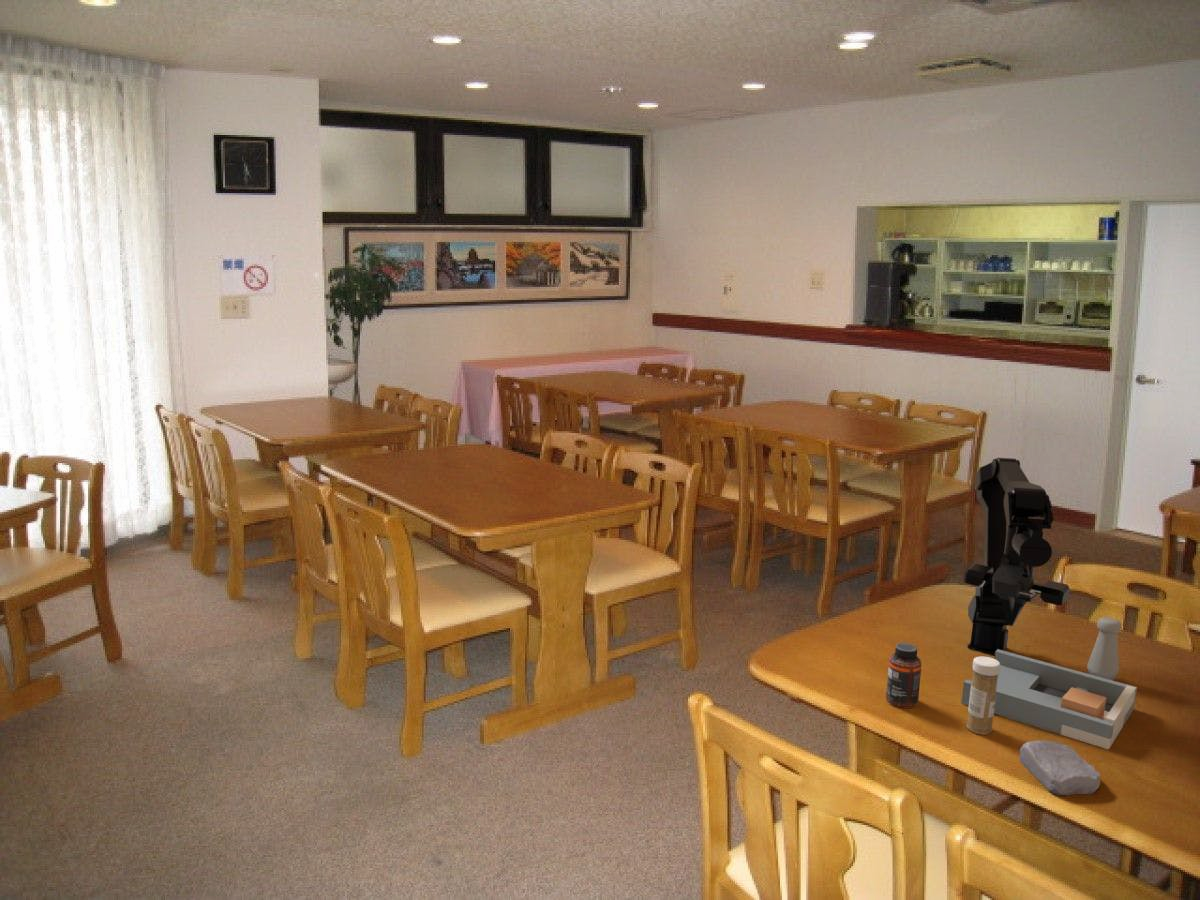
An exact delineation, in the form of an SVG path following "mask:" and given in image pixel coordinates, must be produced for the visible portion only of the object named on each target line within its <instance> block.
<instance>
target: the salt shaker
mask: <svg viewBox="0 0 1200 900" xmlns="http://www.w3.org/2000/svg"><path fill="white" fill-rule="evenodd" d="M1096 628H1097V629H1098V630H1099V632H1098V635H1097V638H1096V640H1095V644H1094V646H1093V649H1092V651H1091V653H1090V656H1089V659H1088V662H1087V665H1086V669H1087V670H1088V674H1090V675H1094V676H1098V677H1101V678H1105V679H1109V680H1112V681H1115V679H1116V677H1117V676H1118V674H1119V672H1120V664H1119V663H1120V662H1119V661H1120V658H1119V644H1118V634H1119V633H1120V632H1121V630H1122V623H1121V622H1120V620H1119V619H1117V618H1115V617H1110V616H1101V617H1100V618H1099V619H1097V624H1096Z"/></svg>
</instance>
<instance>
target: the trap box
mask: <svg viewBox="0 0 1200 900" xmlns="http://www.w3.org/2000/svg"><path fill="white" fill-rule="evenodd" d="M994 659H996V660H997V661H999V663H1000V673H999V675H998V679H997V687H996V699H995V708H994V715H997V716H1000V717H1003V718H1005V719H1006V718H1008V719H1009V720H1012V721H1013V720H1014V721H1016V722H1019V723H1023V724H1025V725H1029V726H1032V727H1036V728H1037V729H1038V728H1039V729H1042V730H1045V731H1048V732H1052V733H1055V734H1057V735H1061V736H1064V737H1067V738H1071V739H1073V740H1076V741H1080V742H1084V743H1087V744H1090V745H1094V746H1097V747H1100V748H1103V749H1105V750H1109V749H1110V748H1111V747H1112V745H1113V743H1114V742H1115V740H1116V738H1117V737H1118V735H1119V734H1120V732H1121V731H1122V729H1123V727H1124V726H1125V724H1126V723H1127V720H1128V719H1129V717H1130V716H1131V714H1132V713H1133V711H1134V709H1135V703H1136V697H1137V691H1138V687H1137V686H1134V685H1131V684H1127V683H1123V682H1121V681H1120V682H1119V681H1117V680H1116V681H1115V680H1113V681H1112V680H1109V679H1105V678H1101V677H1098V676H1094V675H1090V673H1087V672H1086V673H1085V672H1083V671H1080V670H1079V671H1078V670H1076V669H1072V668H1067V667H1064V666H1060V665H1057V664H1054V663H1049V662H1046V661H1043V660H1038V659H1035V658H1031V657H1028V656H1024V655H1020V654H1017V653H1015V652H1014V653H1013V652H1009V651H1007V650H999V649H997V650H996V651H995V655H994ZM971 684H972V679H965V680H964V681H963V685H962V694H961V695H962V696H961V702H960V704H962V705H965V706H968V707H969V699H970V690H971ZM1072 687H1073V688H1077V689H1080V690H1083V691H1087V692H1090V693H1093V694H1097V695H1100V696H1104V697H1107V698H1106V704H1105V711H1104V718H1103V719H1099V718H1096V717H1092V716H1089V715H1085V714H1082V713H1079V712H1075V711H1072V710H1069V709H1065V708H1062V707H1061V701H1062V697H1063V696H1064V695H1065V694H1066V693H1067V692H1068V691H1069V690H1070V689H1071V688H1072ZM1123 725H1124V726H1123Z"/></svg>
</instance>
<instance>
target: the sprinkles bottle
mask: <svg viewBox="0 0 1200 900" xmlns="http://www.w3.org/2000/svg"><path fill="white" fill-rule="evenodd" d="M999 673H1000V663H999V661H997V660H996V659H995V658H994V657H993V658H992V657H989V656H984V655H983V656H981V655H980V656H976V657H974V658H973V662H972V677H971V678H972V679H971V681H972V684H971V690H970V699H969V706H968V708H967V709H968V714H967V722H966V723H965V724H966V729H967V730H968V731H970V732H971V733H974V734H977V735H990V734H991V733H992V732H993V723H994V722H993V721H994V715H995V714H994V708H995V699H996V687H997V679H998V675H999Z"/></svg>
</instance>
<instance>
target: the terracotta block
mask: <svg viewBox="0 0 1200 900" xmlns="http://www.w3.org/2000/svg"><path fill="white" fill-rule="evenodd" d="M1106 698H1107V697H1104V696H1100V695H1097V694H1093V693H1090V692H1087V691H1083V690H1080V689H1077V688H1073V687H1072V688H1071V689H1070V690H1069V691H1068V692H1067V693H1066V694H1065V695H1064V696H1063V697H1062V701H1061V707H1062V708H1065V709H1069V710H1072V711H1075V712H1079V713H1082V714H1085V715H1089V716H1092V717H1096V718H1099V719H1103V718H1104V711H1105V704H1106Z"/></svg>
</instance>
